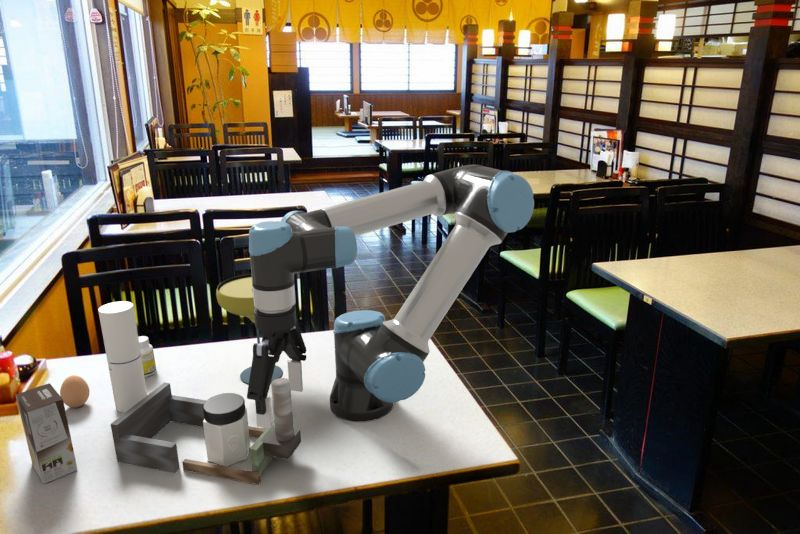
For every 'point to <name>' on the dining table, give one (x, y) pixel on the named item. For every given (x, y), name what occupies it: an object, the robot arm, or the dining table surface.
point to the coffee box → (47, 432)
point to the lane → (144, 451)
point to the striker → (277, 430)
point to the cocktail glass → (241, 308)
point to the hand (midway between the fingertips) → (281, 407)
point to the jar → (226, 429)
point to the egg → (74, 391)
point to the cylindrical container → (123, 354)
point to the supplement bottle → (147, 356)
